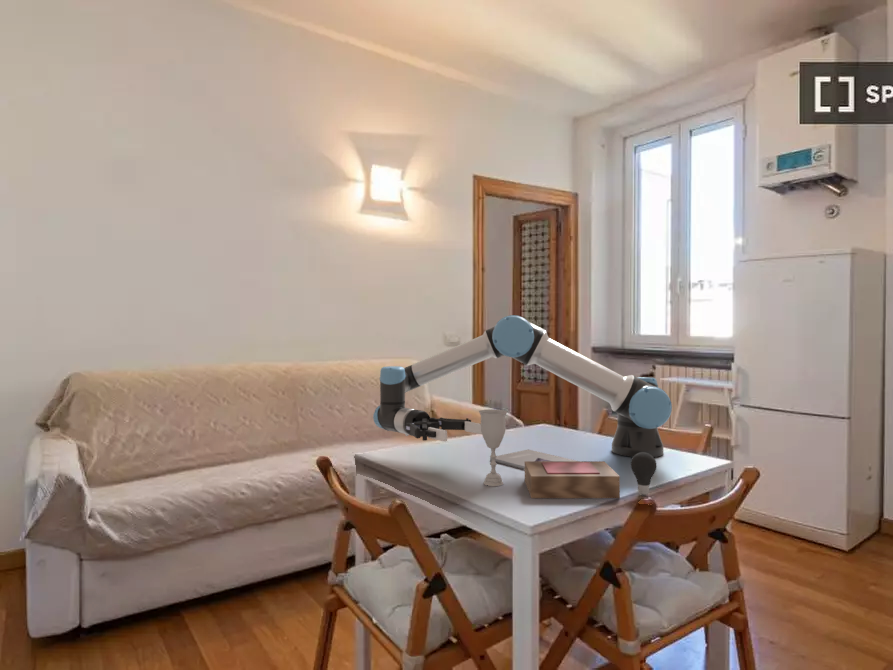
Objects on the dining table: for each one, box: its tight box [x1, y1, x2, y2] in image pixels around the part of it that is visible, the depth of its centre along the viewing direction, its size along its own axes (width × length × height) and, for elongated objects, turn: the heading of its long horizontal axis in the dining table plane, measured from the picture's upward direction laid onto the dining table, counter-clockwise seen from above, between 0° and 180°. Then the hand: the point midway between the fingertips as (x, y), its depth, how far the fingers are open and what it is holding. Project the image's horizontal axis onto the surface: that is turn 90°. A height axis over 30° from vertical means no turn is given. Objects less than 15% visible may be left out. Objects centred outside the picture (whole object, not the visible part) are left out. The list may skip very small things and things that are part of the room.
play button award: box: [489, 449, 577, 471], centre depth 160 cm, size 16×2×20 cm
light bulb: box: [630, 452, 658, 497], centre depth 129 cm, size 6×6×10 cm
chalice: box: [478, 408, 508, 487], centre depth 140 cm, size 7×7×18 cm
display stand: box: [524, 460, 621, 499], centre depth 134 cm, size 20×14×5 cm
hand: (465, 432), depth 147 cm, fingers open, 13 cm apart
